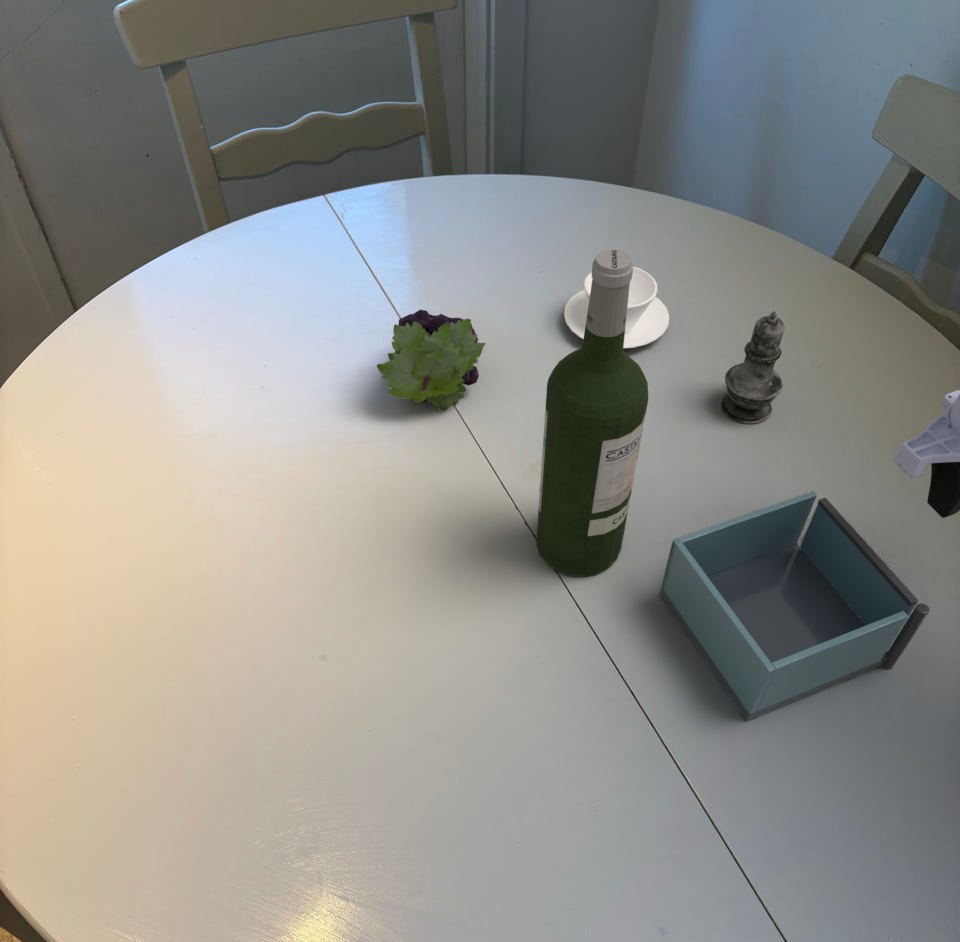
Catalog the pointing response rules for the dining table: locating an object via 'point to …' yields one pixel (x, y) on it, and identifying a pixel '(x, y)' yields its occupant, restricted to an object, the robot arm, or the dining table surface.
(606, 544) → the wine bottle
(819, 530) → the blue flat panel
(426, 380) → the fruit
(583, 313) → the teacup
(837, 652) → the light blue open box
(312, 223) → the dining table surface
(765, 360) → the grey chess piece
